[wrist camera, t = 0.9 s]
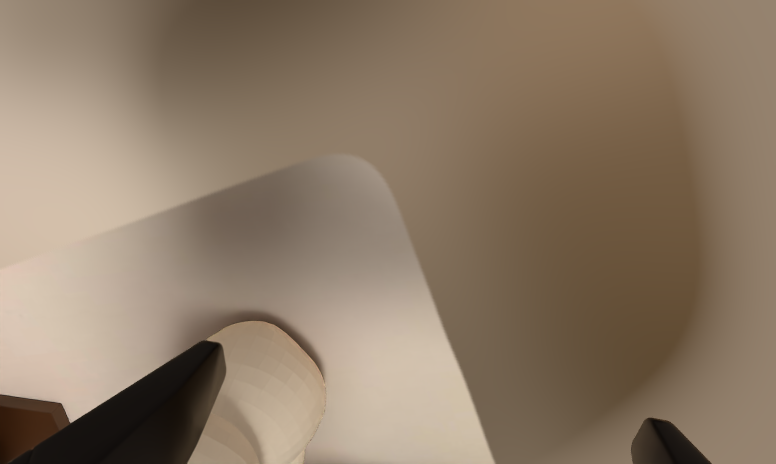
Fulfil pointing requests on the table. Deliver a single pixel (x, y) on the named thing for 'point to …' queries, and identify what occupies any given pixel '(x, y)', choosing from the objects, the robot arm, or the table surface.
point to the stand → (27, 424)
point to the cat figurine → (262, 399)
